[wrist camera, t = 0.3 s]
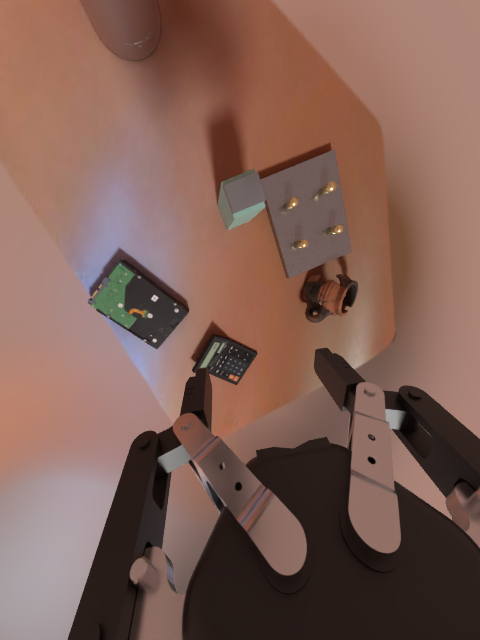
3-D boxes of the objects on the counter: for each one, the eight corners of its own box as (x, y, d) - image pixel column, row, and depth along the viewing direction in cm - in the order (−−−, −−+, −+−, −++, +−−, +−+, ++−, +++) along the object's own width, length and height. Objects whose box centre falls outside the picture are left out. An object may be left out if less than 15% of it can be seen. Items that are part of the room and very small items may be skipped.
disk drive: (190, 308, 40) (124, 258, 35) (189, 312, 37) (117, 258, 33) (160, 344, 41) (92, 301, 37) (157, 350, 39) (83, 304, 34)
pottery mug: (317, 260, 41) (358, 266, 35) (327, 286, 48) (362, 294, 42) (287, 306, 40) (324, 320, 34) (301, 326, 47) (334, 340, 41)
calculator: (236, 383, 47) (237, 391, 44) (192, 364, 44) (191, 372, 41) (256, 352, 45) (259, 358, 42) (212, 330, 42) (213, 335, 39)
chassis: (258, 182, 34) (265, 172, 30) (329, 153, 35) (346, 139, 31) (286, 277, 41) (295, 279, 36) (346, 252, 41) (362, 251, 37)
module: (217, 204, 34) (221, 179, 23) (240, 195, 35) (256, 165, 23) (226, 230, 36) (235, 218, 25) (249, 221, 36) (267, 204, 25)
